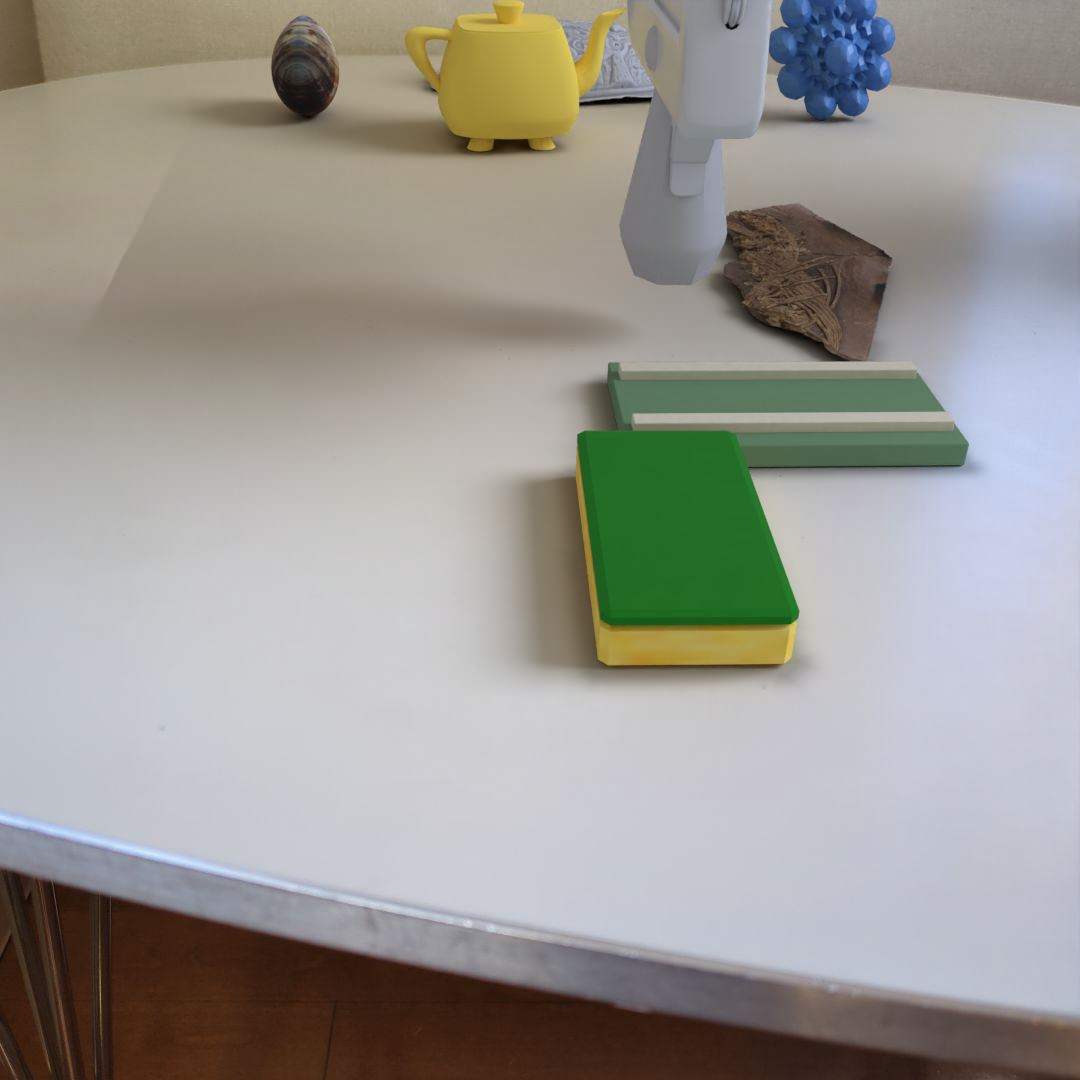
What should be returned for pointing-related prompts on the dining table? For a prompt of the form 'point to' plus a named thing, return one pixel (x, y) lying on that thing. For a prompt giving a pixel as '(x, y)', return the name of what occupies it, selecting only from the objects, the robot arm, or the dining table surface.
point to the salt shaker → (670, 205)
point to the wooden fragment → (808, 276)
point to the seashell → (305, 67)
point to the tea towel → (794, 410)
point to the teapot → (510, 74)
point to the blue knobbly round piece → (832, 54)
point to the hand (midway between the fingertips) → (678, 180)
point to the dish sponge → (680, 552)
